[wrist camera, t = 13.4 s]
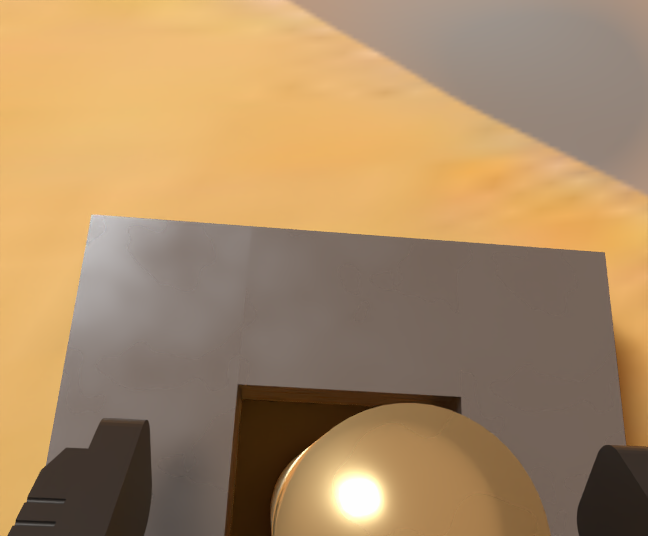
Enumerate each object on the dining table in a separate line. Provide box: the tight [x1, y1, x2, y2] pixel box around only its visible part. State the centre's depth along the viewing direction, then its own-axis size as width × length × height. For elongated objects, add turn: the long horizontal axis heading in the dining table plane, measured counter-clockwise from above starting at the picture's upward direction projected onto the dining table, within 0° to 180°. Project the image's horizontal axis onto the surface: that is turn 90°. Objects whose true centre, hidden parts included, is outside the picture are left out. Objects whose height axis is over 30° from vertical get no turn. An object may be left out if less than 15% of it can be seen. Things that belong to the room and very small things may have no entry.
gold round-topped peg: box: [270, 403, 551, 536], centre depth 13 cm, size 4×4×10 cm
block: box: [46, 215, 626, 536], centre depth 16 cm, size 14×14×3 cm
